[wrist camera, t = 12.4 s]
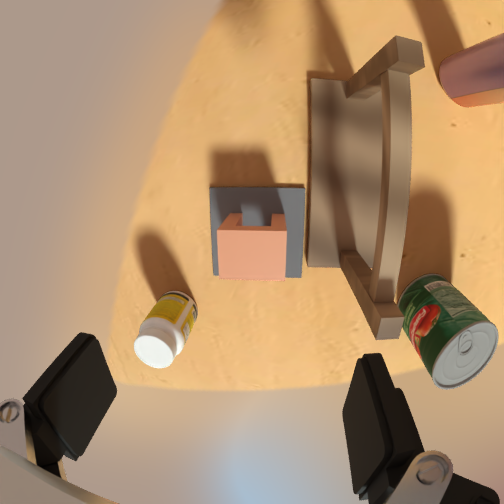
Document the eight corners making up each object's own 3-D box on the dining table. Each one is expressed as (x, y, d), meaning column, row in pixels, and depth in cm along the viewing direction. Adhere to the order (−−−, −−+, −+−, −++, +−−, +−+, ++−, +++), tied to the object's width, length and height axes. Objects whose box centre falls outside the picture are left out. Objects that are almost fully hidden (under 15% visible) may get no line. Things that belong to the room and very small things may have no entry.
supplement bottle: (152, 301, 32) (120, 342, 24) (180, 282, 31) (151, 323, 23) (177, 331, 33) (153, 377, 26) (206, 314, 32) (187, 362, 24)
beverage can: (428, 79, 22) (521, 45, 7) (448, 48, 20) (532, 10, 6) (464, 118, 22) (564, 114, 8) (482, 86, 20) (572, 72, 6)
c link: (230, 213, 28) (216, 230, 22) (284, 213, 27) (286, 231, 21) (231, 252, 29) (219, 278, 23) (283, 253, 29) (284, 281, 23)
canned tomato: (454, 311, 30) (498, 361, 19) (404, 341, 32) (437, 401, 21) (443, 260, 28) (497, 305, 17) (387, 294, 30) (427, 353, 19)
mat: (210, 187, 28) (209, 187, 27) (304, 188, 27) (305, 188, 26) (214, 273, 30) (213, 275, 30) (300, 276, 30) (301, 277, 29)
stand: (309, 81, 23) (337, 22, 11) (389, 90, 23) (465, 54, 10) (306, 262, 29) (325, 344, 16) (380, 263, 29) (437, 337, 16)
